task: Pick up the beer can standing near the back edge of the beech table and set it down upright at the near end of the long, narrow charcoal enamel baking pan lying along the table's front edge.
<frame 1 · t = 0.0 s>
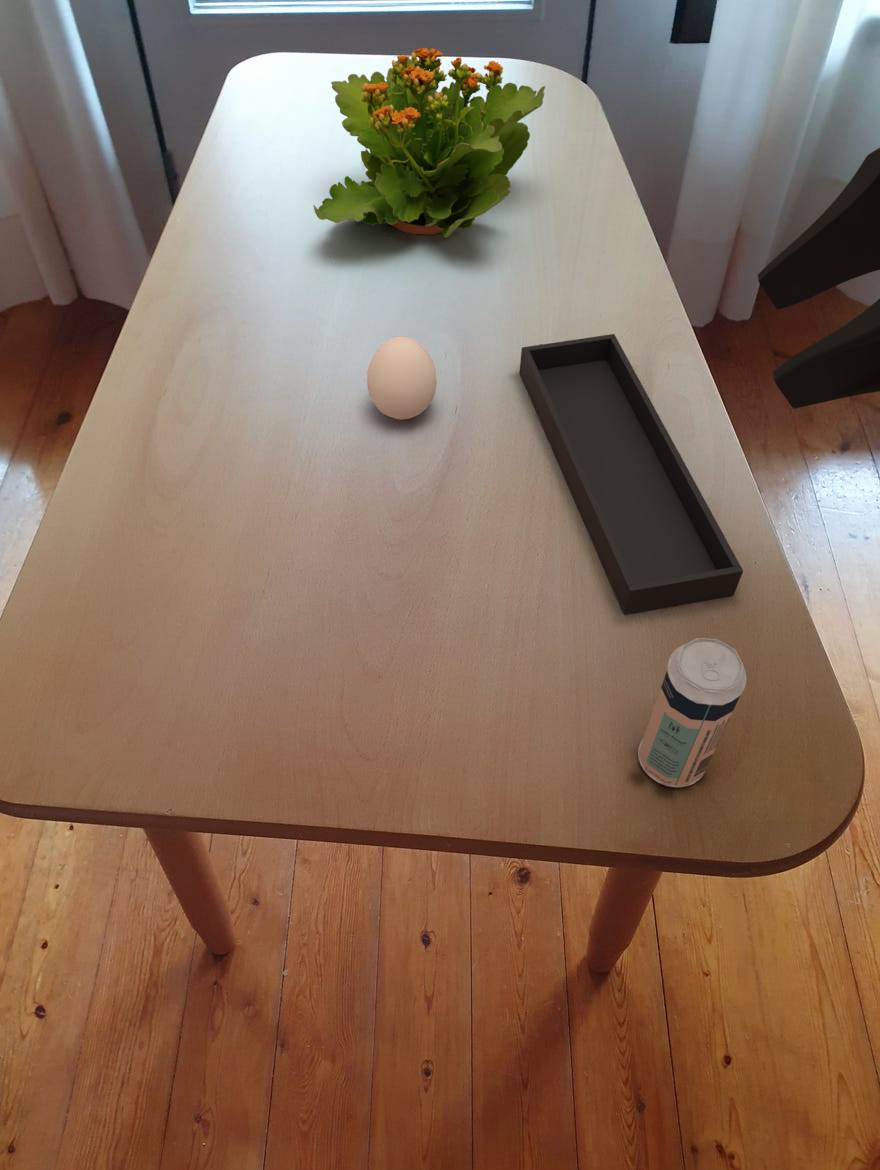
hand: (774, 339, 47), 32 cm above the table, tool tilted 50°, fingers open, 7 cm apart
potted flower: (431, 212, 113), on the table
beer can: (670, 762, 69), on the table
egg: (402, 413, 92), on the table
baking pan: (616, 473, 86), on the table
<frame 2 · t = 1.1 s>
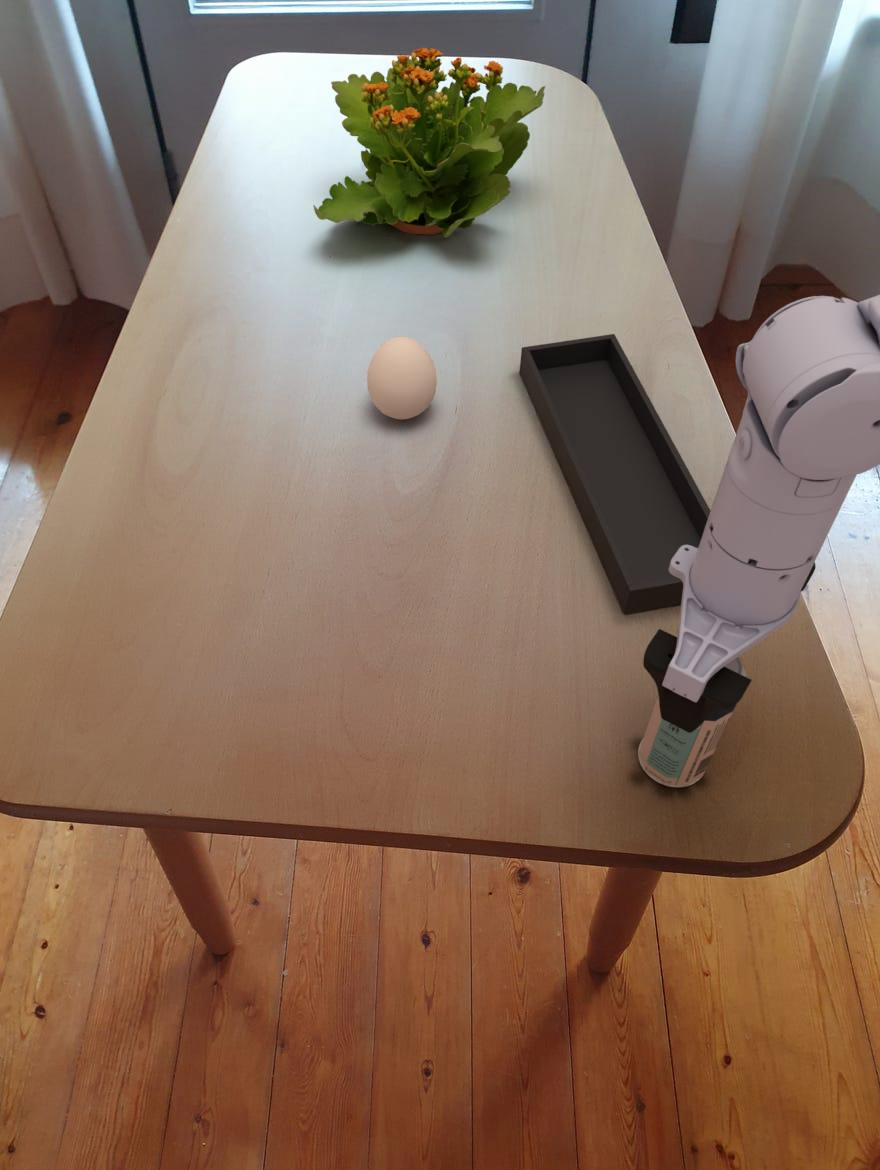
hand: (704, 678, 61), 10 cm above the table, tool pointing down, fingers open, 7 cm apart
nothing on the table moved.
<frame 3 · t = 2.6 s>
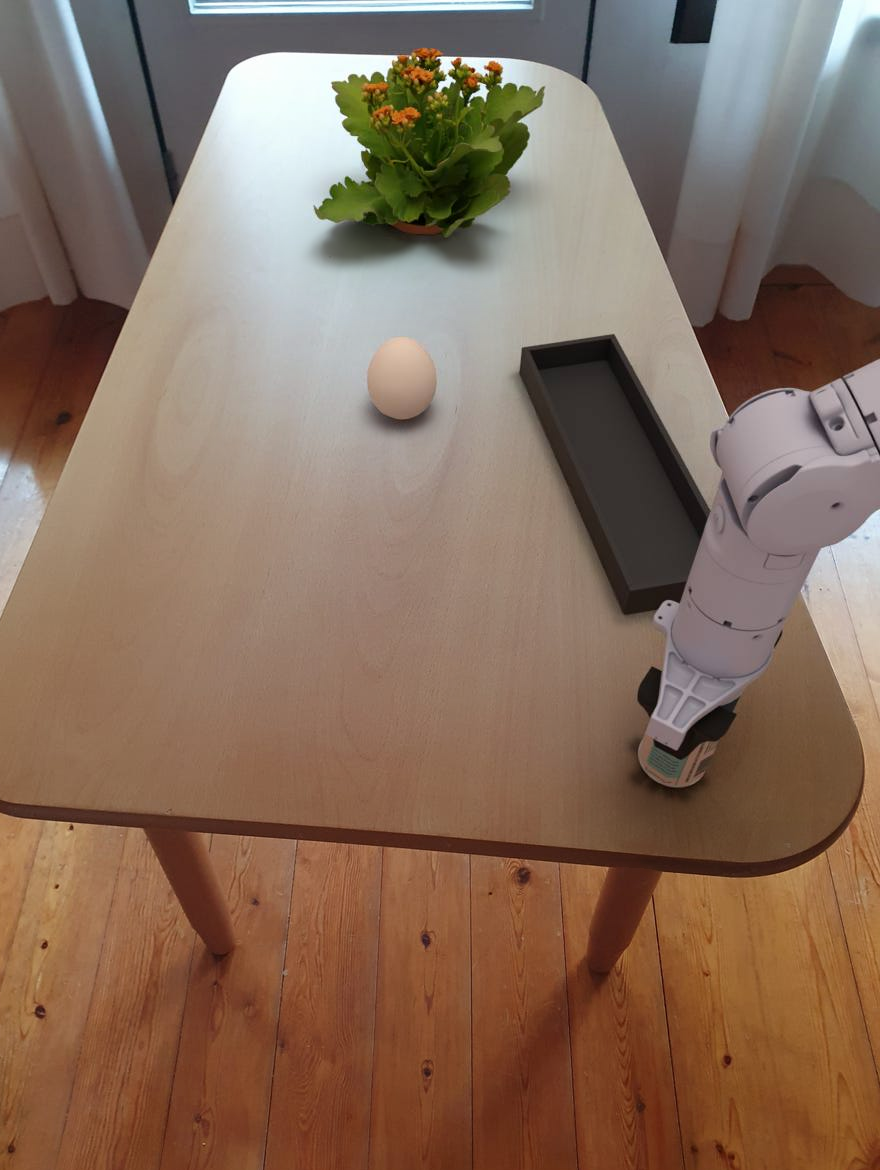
hand: (687, 720, 65), 5 cm above the table, tool pointing down, fingers closed on beer can, 5 cm apart
beer can: (670, 762, 69), on the table, touching gripper
everything else where it was.
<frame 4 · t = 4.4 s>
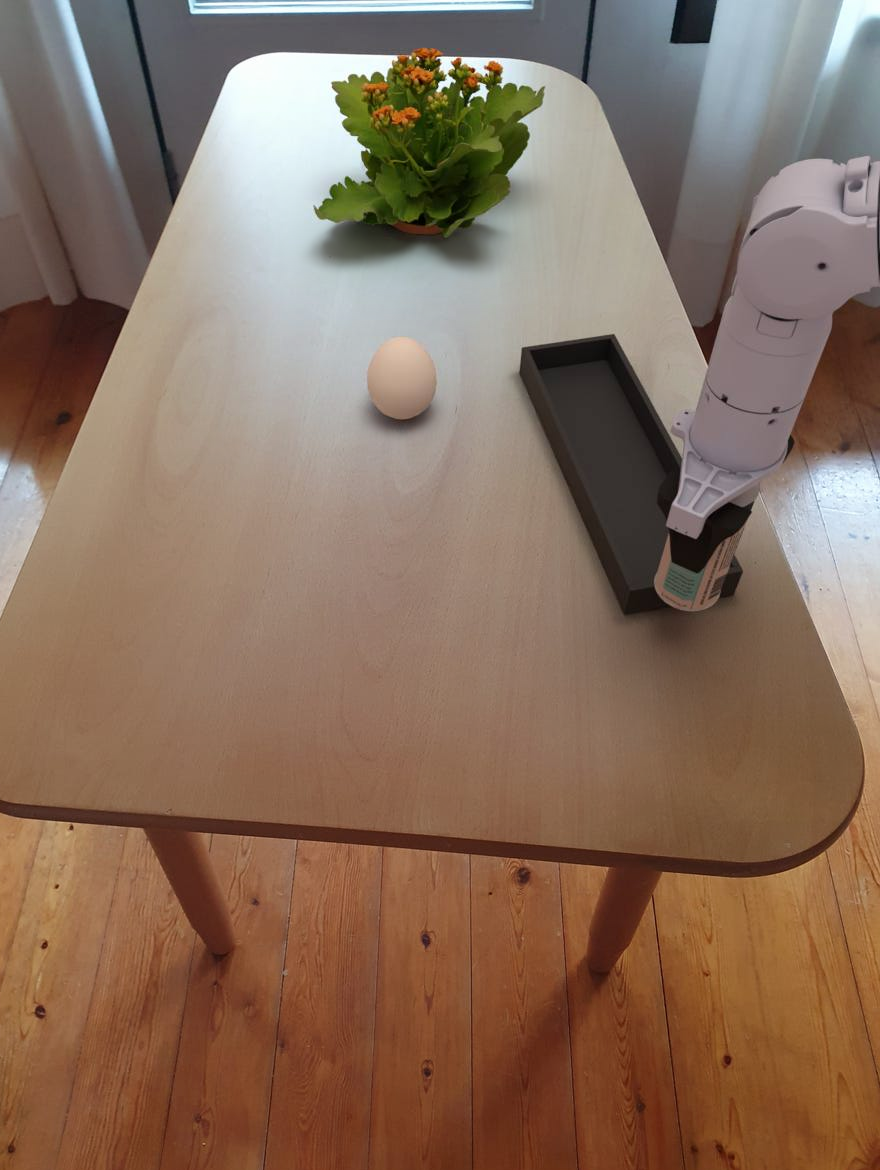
hand: (702, 540, 68), 10 cm above the table, tool pointing down, fingers closed on beer can, 5 cm apart
beer can: (685, 591, 72), point 5 cm above the table, touching gripper
everything else where it was.
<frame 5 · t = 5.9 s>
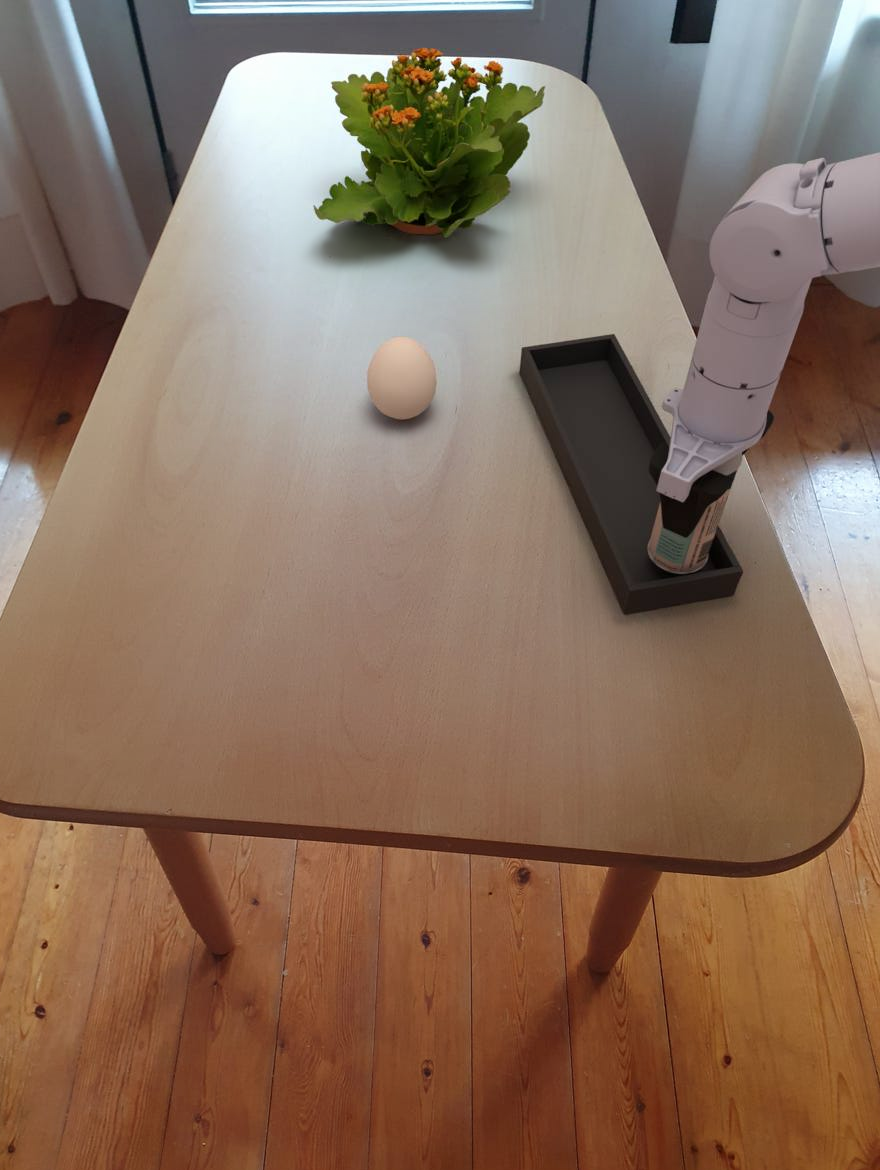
hand: (691, 508, 74), 7 cm above the table, tool pointing down, fingers closed on beer can, 5 cm apart
beer can: (675, 557, 79), point 1 cm above the table, touching gripper
everything else where it was.
when the fingers open (6 cm above the table, at t = 6.7 s): beer can stays where it is, resting on baking pan.
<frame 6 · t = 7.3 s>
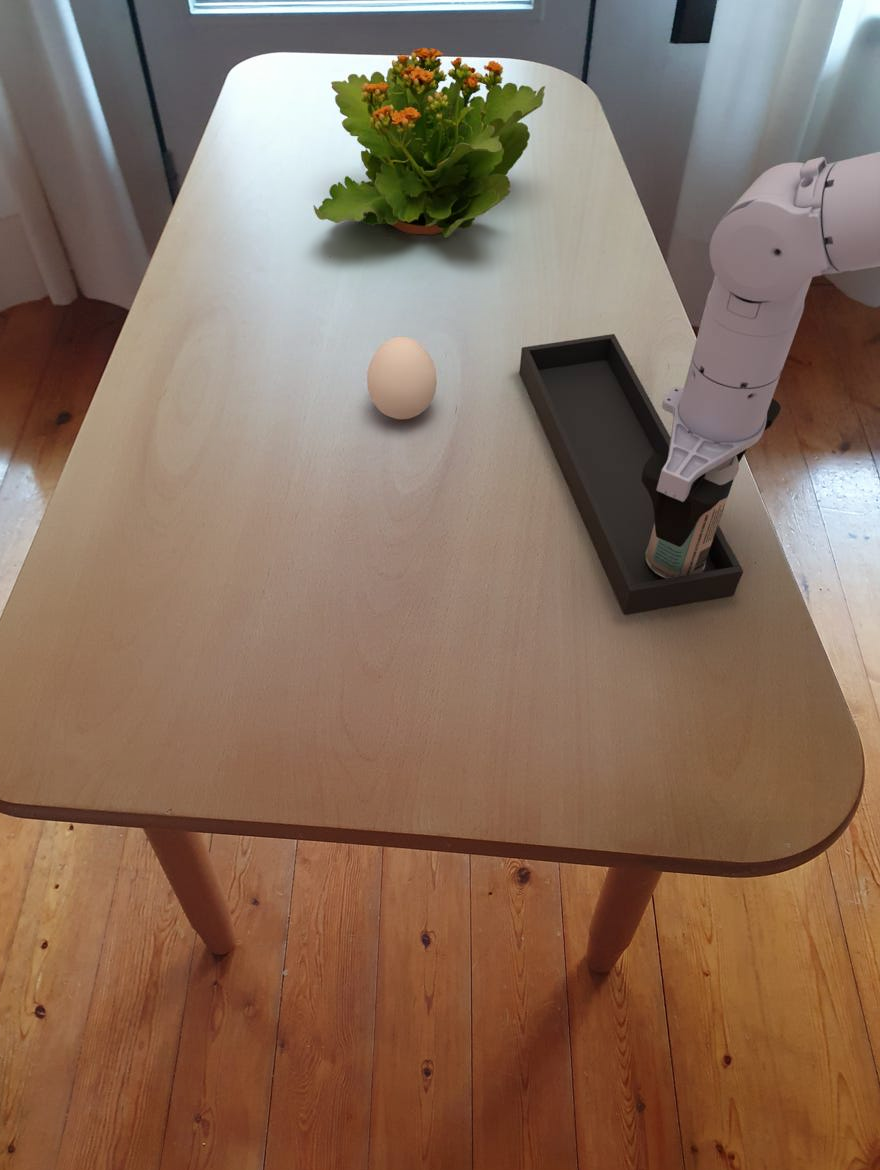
hand: (691, 507, 74), 7 cm above the table, tool pointing down, fingers open, 7 cm apart
beer can: (673, 564, 80), resting on baking pan
everything else where it was.
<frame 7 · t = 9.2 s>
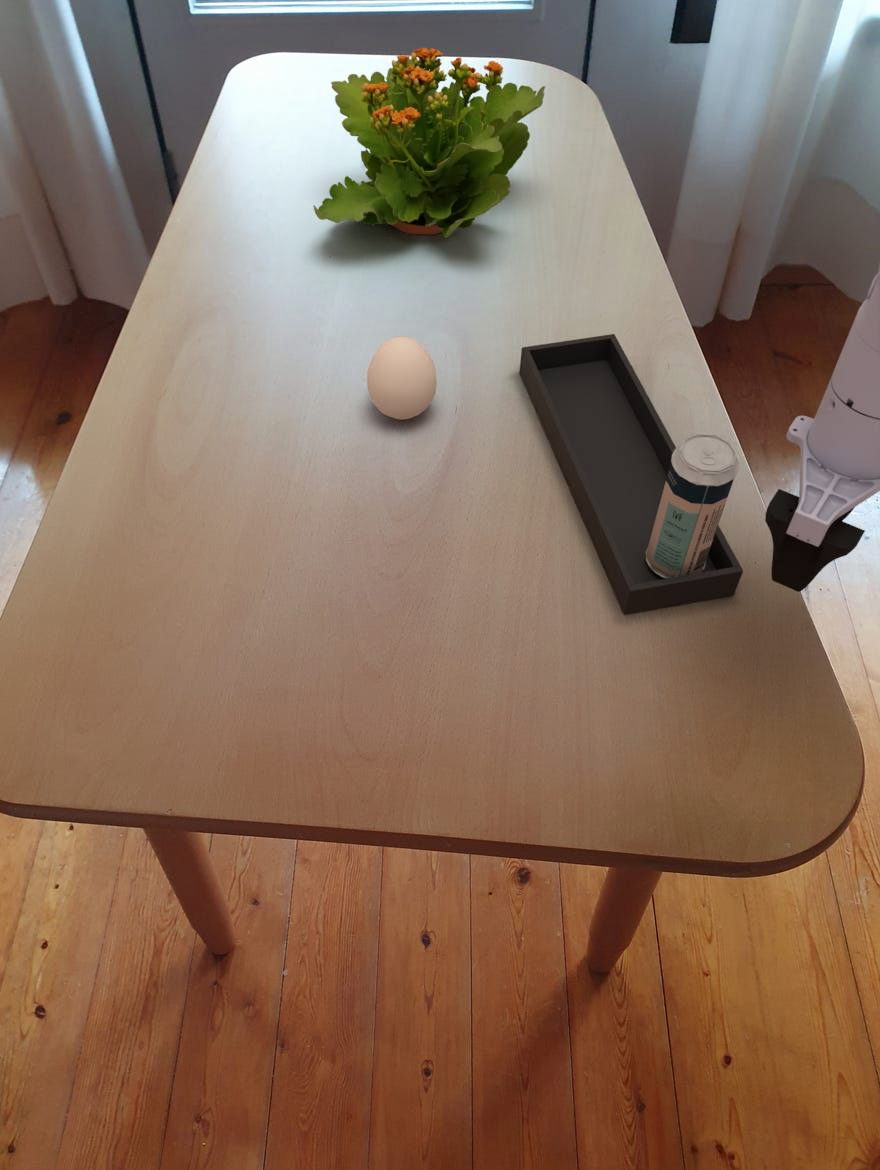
hand: (808, 547, 67), 10 cm above the table, tool pointing down, fingers open, 7 cm apart
nothing on the table moved.
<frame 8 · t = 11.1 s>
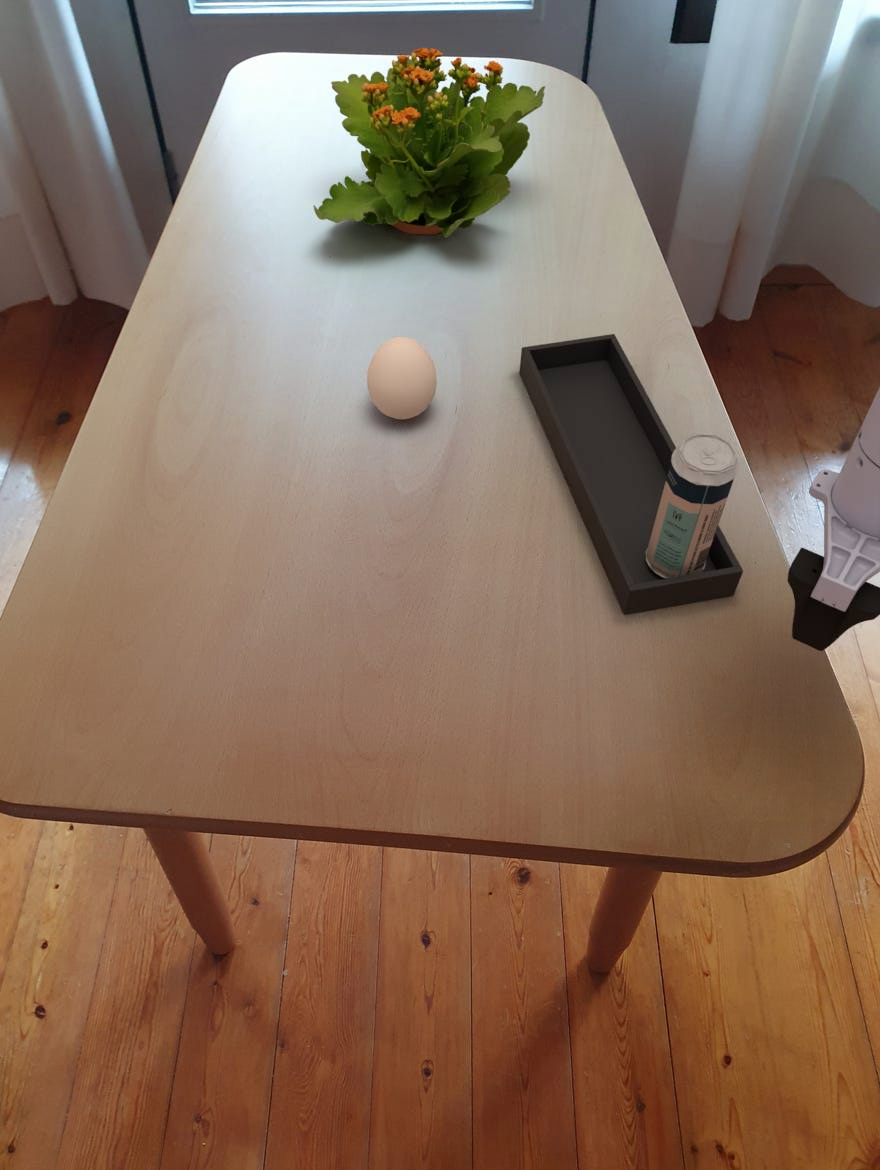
hand: (830, 602, 64), 10 cm above the table, tool pointing down, fingers open, 7 cm apart
nothing on the table moved.
at the end: beer can inside the target area in the baking pan (0.0 cm from its centre), point 0.3 cm above the baking pan's base; beer can tilted 0°; the gripper is holding nothing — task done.
